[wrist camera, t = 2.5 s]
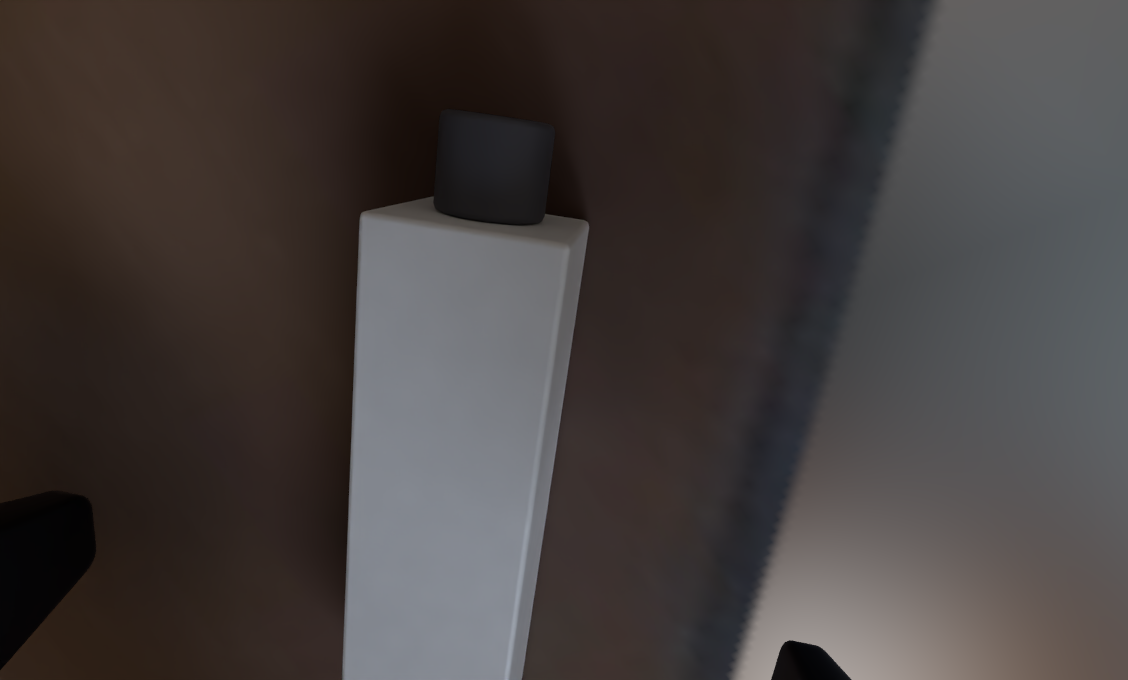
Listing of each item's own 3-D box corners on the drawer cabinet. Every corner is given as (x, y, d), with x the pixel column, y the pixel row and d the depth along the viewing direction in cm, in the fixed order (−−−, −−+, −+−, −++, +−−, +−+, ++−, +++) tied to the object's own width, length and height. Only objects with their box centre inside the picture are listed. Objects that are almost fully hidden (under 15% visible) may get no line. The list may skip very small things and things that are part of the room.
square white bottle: (518, 702, 12) (486, 835, 9) (395, 676, 12) (335, 799, 10) (603, 132, 9) (587, 127, 6) (435, 108, 9) (361, 94, 7)
